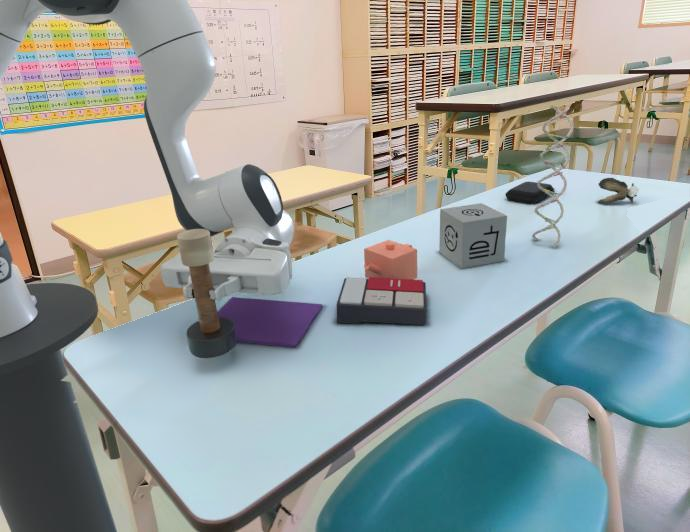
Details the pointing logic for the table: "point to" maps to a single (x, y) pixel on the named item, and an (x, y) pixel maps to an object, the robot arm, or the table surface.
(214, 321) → the wooden rod on disc
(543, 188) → the dna model
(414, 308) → the dark paneled box
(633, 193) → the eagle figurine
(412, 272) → the pink cube teapot
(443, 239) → the icon cube
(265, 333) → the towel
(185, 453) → the table surface
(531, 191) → the carrying case
